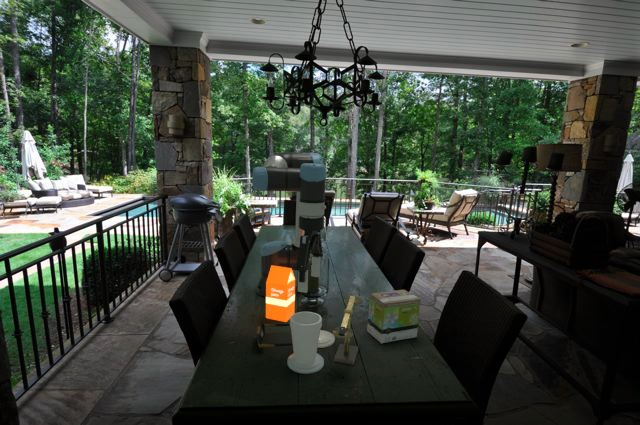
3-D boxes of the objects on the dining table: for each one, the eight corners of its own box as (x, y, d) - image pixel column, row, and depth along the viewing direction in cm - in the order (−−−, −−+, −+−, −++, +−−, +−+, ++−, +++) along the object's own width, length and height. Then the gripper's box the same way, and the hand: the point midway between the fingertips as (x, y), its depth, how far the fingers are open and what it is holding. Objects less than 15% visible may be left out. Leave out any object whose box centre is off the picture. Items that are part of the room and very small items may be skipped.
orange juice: (286, 322, 136) (287, 271, 133) (265, 318, 139) (265, 267, 136) (294, 314, 143) (295, 265, 140) (274, 310, 146) (275, 262, 143)
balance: (343, 338, 125) (345, 291, 123) (360, 340, 124) (363, 293, 121) (329, 373, 105) (331, 317, 102) (349, 376, 103) (352, 320, 101)
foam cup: (316, 369, 104) (318, 327, 102) (285, 365, 106) (286, 323, 104) (322, 352, 113) (324, 313, 111) (294, 348, 115) (295, 310, 113)
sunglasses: (303, 354, 115) (304, 339, 114) (255, 355, 113) (255, 340, 113) (301, 333, 129) (302, 320, 128) (258, 333, 127) (258, 320, 126)
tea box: (382, 345, 122) (384, 303, 119) (366, 331, 131) (368, 292, 129) (418, 337, 128) (421, 297, 125) (400, 325, 137) (403, 287, 135)
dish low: (282, 369, 105) (282, 365, 105) (294, 350, 116) (294, 347, 116) (318, 376, 103) (318, 372, 103) (327, 356, 113) (327, 353, 113)
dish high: (298, 344, 120) (298, 341, 120) (307, 329, 130) (307, 326, 130) (330, 350, 117) (330, 346, 117) (337, 334, 128) (337, 331, 127)
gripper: (311, 225, 95) (309, 301, 98) (333, 210, 118) (330, 272, 122) (284, 222, 97) (283, 297, 100) (311, 208, 120) (309, 269, 124)
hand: (309, 283), depth 111 cm, fingers open, 13 cm apart
